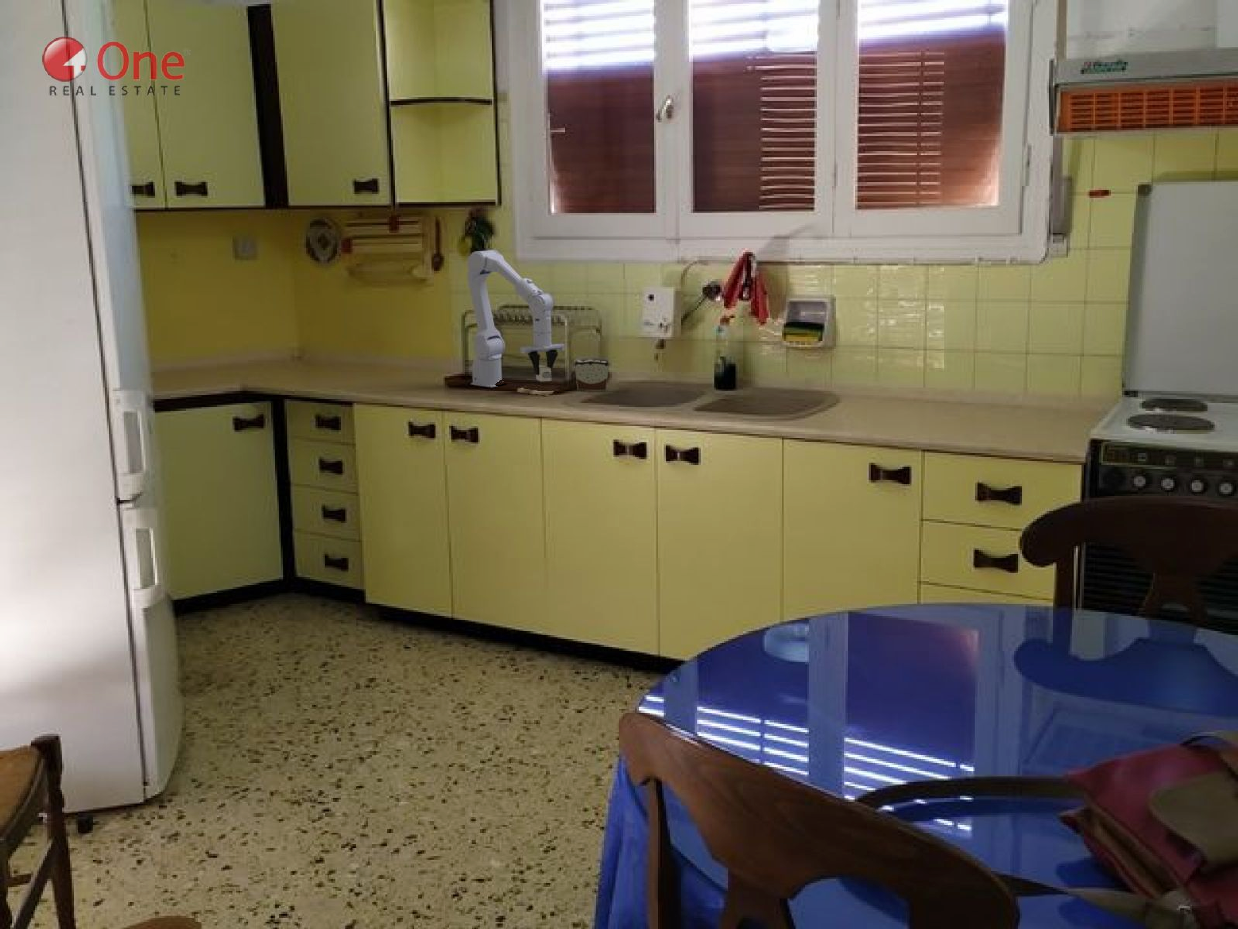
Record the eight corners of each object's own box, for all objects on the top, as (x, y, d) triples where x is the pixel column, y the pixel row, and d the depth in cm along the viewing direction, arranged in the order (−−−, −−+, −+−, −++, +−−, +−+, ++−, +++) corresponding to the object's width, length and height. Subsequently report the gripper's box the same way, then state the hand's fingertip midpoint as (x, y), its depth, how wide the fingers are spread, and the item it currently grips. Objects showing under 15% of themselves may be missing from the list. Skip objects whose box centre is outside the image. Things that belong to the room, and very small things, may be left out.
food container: (612, 387, 386) (612, 357, 383) (610, 390, 380) (610, 360, 377) (575, 386, 387) (575, 356, 384) (573, 390, 381) (572, 359, 378)
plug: (534, 378, 382) (534, 366, 381) (544, 377, 383) (544, 365, 382) (542, 382, 375) (542, 370, 374) (553, 381, 376) (552, 369, 375)
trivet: (517, 391, 379) (517, 388, 379) (541, 385, 388) (541, 382, 388) (546, 396, 372) (546, 392, 372) (569, 389, 381) (569, 386, 381)
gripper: (525, 335, 369) (526, 377, 372) (568, 332, 375) (568, 374, 378) (517, 332, 375) (518, 374, 379) (560, 329, 381) (560, 370, 384)
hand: (543, 373), depth 379 cm, fingers closed on plug, 4 cm apart
